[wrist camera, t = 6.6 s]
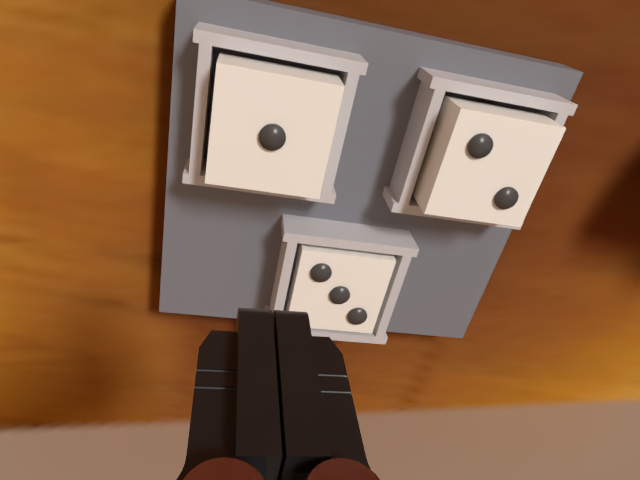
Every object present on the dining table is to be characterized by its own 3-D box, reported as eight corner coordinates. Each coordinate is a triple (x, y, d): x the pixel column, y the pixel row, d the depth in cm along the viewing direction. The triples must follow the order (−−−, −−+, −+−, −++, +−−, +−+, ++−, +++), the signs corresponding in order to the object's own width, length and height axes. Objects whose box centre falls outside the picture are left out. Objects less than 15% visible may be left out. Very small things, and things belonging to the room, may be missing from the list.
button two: (543, 114, 23) (568, 129, 21) (502, 208, 26) (521, 228, 24) (445, 95, 22) (462, 109, 20) (412, 195, 25) (425, 215, 23)
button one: (337, 74, 21) (345, 87, 19) (314, 180, 24) (319, 200, 22) (219, 52, 20) (216, 63, 18) (208, 165, 23) (204, 184, 21)
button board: (561, 63, 25) (608, 82, 22) (451, 318, 34) (473, 360, 30) (183, -18, 22) (169, -11, 18) (164, 290, 30) (152, 335, 27)
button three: (387, 241, 27) (397, 262, 26) (365, 311, 30) (372, 335, 28) (299, 230, 26) (302, 251, 25) (283, 303, 29) (285, 328, 27)
